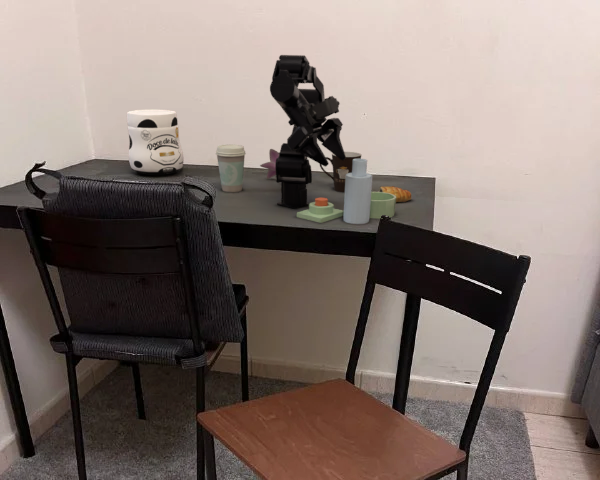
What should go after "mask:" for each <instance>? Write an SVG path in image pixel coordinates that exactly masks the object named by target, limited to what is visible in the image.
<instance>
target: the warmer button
mask: <svg viewBox="0 0 600 480" xmlns="http://www.w3.org/2000/svg"><path fill="white" fill-rule="evenodd" d="M314 202H315V206H328V202H329V199H328V198H327V197H315V199H314Z"/></svg>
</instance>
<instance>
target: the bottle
mask: <svg viewBox="0 0 600 480" xmlns="http://www.w3.org/2000/svg"><path fill="white" fill-rule="evenodd" d="M367 171H368V159H367V158H361V159H353V165H352V173H348V174H346V178H345V192H344V201H343V211H344V216H342V217H343V222H345V223H347V224H352V225H364V224H368V223H369V222H370V218H369V217H370V204H371V192H372V190H373V189H372V188H373V174H371V173H367Z"/></svg>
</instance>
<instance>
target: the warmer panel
mask: <svg viewBox="0 0 600 480" xmlns="http://www.w3.org/2000/svg"><path fill="white" fill-rule="evenodd" d="M309 203H310V204H309V205H308V209H304V210H300V211H297V212H296V218H300V219H303V220H308V221H311V222H314V223H315V222H316V223H319V224H322V223H325V222H329V221H331V220H335V219H339V218H341V217H343V216H344V209H343V210H342V209H339V208H334V207H335V204H333V203H332V202H329V201H328V206H315V201H313V202H309Z"/></svg>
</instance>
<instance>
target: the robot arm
mask: <svg viewBox="0 0 600 480" xmlns="http://www.w3.org/2000/svg"><path fill="white" fill-rule="evenodd" d="M300 84H312V87H313V88H299V85H300ZM269 92H270V96H271V97H272V98H273V99H274V100H275V102H276V103H277V104H278V105H279V106H280V108H281V109H282V110H283V112H284V113H285V114H286V116H287V117H288V118H289V120H288V122H287V123H288V124H289V126H293V127H292V131H291V134H290V135H289V136H288V137H287V139H286V143H285V142H283V143H282V144H281V145H280V151H278V152H279V156H278V158H277V159H276V164H275V169H276V175H275V178H276V179H275V180H276V183H278V184H279V183H280V196H281V197H280V201H279V202H277V203H276V204H277V206H280V207H283V208H288V209H293V210H297V209H300V208H303V207H307V206H309V204H310V203H311V202H308V188H307V185H308V184H312V182H313V172H312V165H311V164H310V160H312V161H314V162H316V163H317V164H319V165H320V164H321V165H322V167H328V165H329V160H328V159H326V157H327V156H326V155H325V154H324V152H323V150H322V149H321V146H323V147H324V148H325V149H327V150H328V151H329V152H330V153H331V154H332V153H333V154H334V155H336V156H337V157H338V158H340V159H341V160H344V159H345V158H346V156H345V153H344V152H345V151H344V147H343V144H342V140H341V137H340V136H341V131H342V129H343V125H344V123H342V121H341V119H340V118H338V117H332V118H328V119H327V117H330V116H331V115H334V114H337V113H340V110H339V106H340V101H339V100H338V99H337V97H336V98H335V96H333V95H331V96H330V95H329V96H328V97H327V98H325V97H326V96H325V85H324V83H323V82H322V81H321V80H320V78H319V77H318V75H317V67H315V66H313V65H311V64H310V61H309V59H308V58H307V56H306V55H302V54H300V55H298V54H280V55H279V56H278V59H276V61H275V65H274V69H273V73H272V78H271V83H270V85H269ZM318 141H319V142H321V146H320V145H319V143H318Z"/></svg>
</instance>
